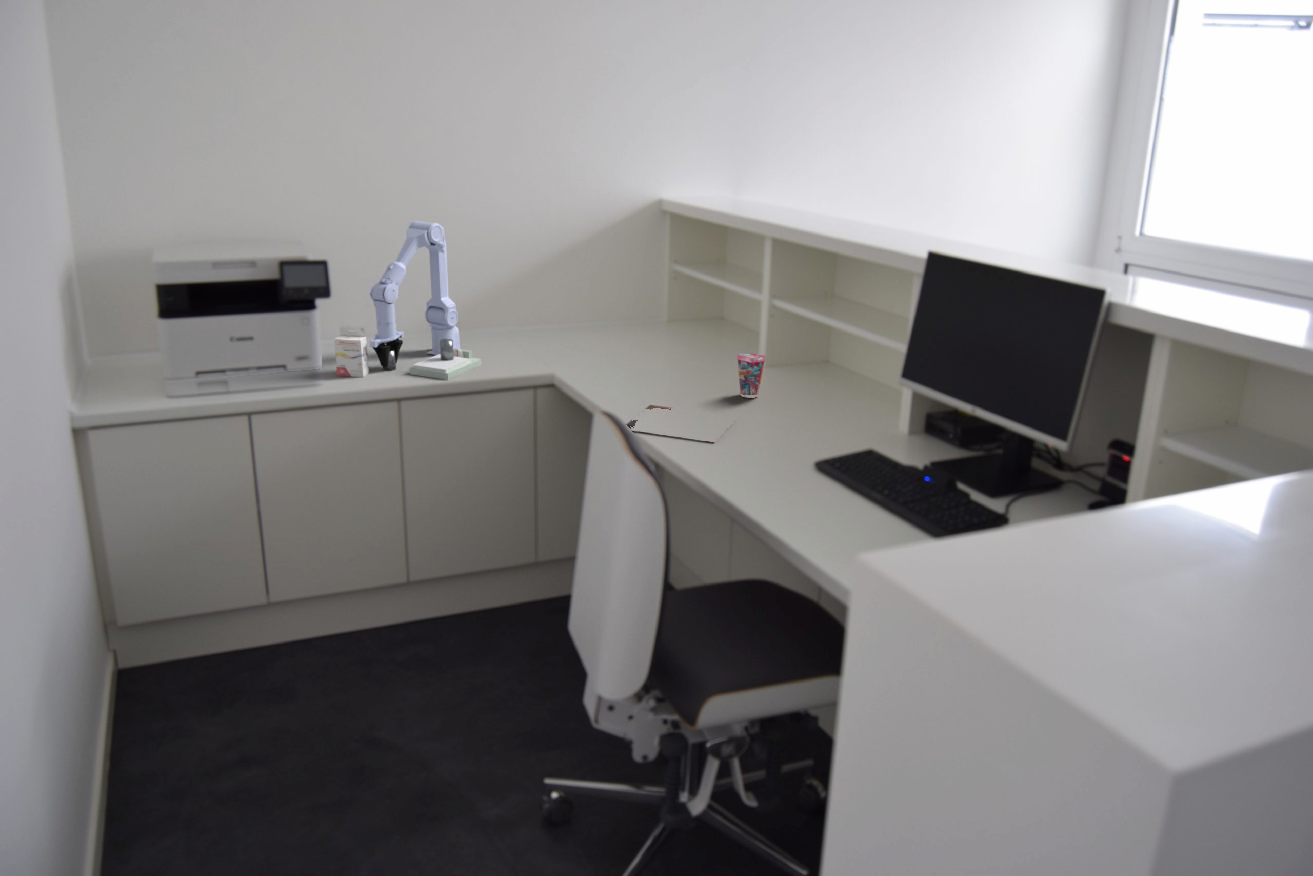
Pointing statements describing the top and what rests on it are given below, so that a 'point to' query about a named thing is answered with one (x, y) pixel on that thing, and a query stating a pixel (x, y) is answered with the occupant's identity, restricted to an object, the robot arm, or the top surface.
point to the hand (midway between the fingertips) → (389, 364)
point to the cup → (750, 372)
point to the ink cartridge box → (351, 352)
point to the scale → (446, 365)
